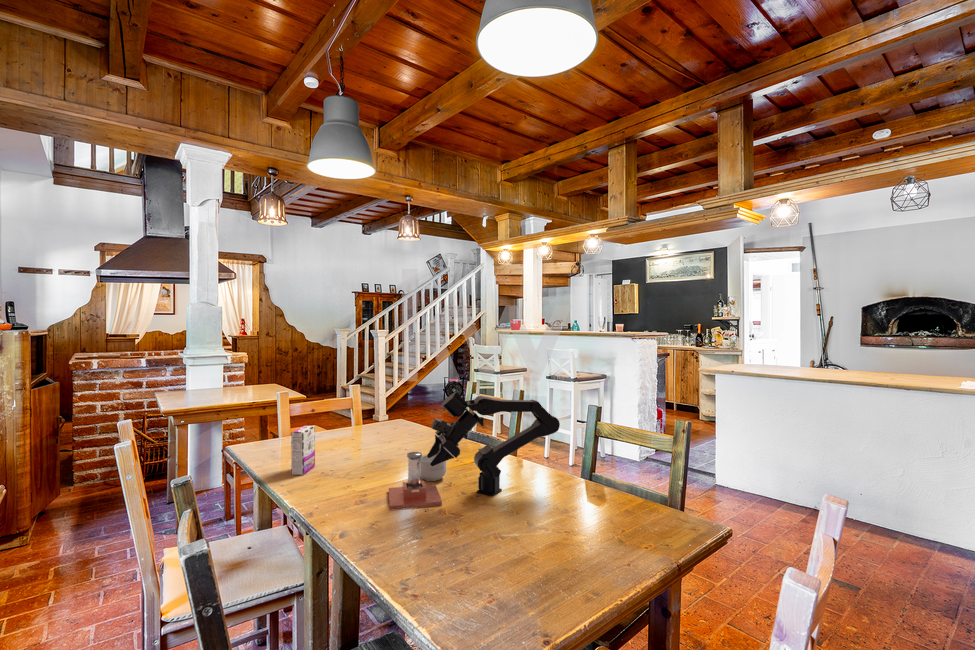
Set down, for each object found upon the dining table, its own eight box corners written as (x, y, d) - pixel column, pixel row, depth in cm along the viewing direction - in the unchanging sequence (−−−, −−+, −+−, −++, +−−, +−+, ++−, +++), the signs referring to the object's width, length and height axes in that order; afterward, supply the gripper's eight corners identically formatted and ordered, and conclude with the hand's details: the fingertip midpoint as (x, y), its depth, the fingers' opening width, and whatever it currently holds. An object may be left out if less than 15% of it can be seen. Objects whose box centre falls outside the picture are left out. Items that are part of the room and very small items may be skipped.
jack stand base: (435, 487, 158) (435, 475, 158) (441, 505, 143) (442, 491, 143) (388, 491, 154) (388, 479, 154) (390, 509, 139) (390, 496, 139)
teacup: (432, 485, 160) (432, 463, 160) (410, 479, 167) (411, 457, 167) (457, 475, 171) (458, 454, 172) (437, 470, 178) (437, 449, 178)
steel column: (420, 490, 151) (421, 451, 151) (422, 495, 147) (422, 455, 147) (406, 491, 150) (406, 452, 150) (407, 496, 146) (407, 456, 146)
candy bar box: (303, 466, 182) (303, 425, 182) (315, 466, 182) (315, 425, 182) (290, 475, 170) (290, 431, 171) (303, 475, 170) (303, 432, 170)
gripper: (441, 405, 160) (409, 438, 157) (450, 415, 142) (414, 452, 139) (463, 426, 162) (432, 459, 159) (474, 439, 144) (439, 476, 141)
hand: (429, 461), depth 150 cm, fingers open, 9 cm apart
